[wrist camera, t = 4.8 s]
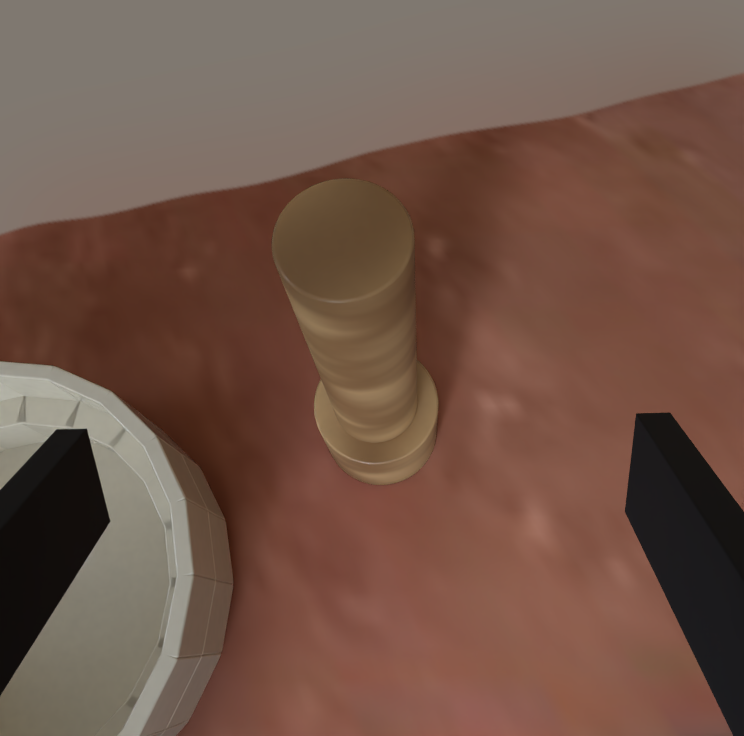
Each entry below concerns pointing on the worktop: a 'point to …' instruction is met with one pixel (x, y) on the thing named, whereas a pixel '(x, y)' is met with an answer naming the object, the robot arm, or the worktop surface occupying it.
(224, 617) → the mixing bowl
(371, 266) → the wooden masher
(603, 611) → the worktop surface
